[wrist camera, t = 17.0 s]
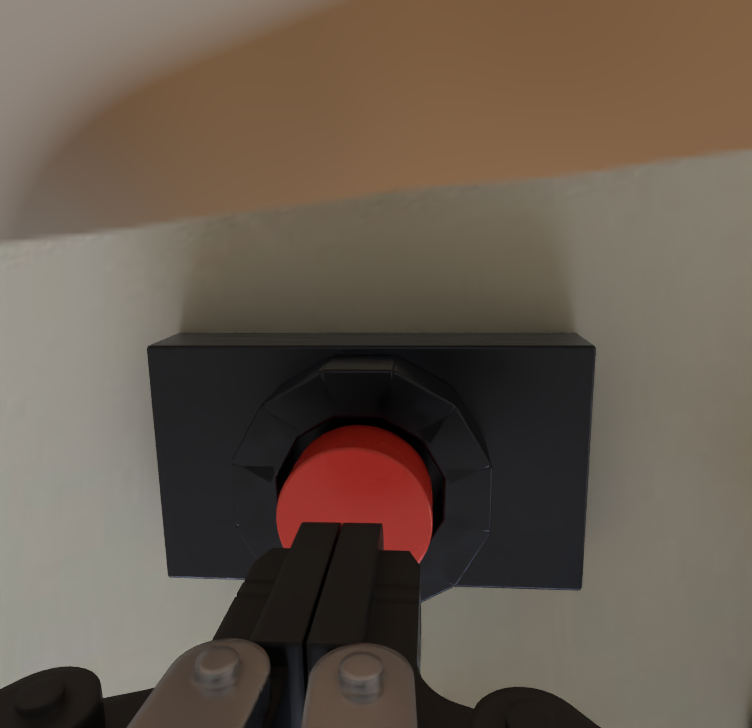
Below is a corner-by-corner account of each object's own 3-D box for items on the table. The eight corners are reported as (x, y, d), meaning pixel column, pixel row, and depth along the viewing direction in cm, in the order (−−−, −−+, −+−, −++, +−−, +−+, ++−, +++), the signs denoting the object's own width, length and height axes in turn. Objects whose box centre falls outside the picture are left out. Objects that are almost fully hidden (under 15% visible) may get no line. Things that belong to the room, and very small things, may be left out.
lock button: (294, 554, 16) (278, 591, 15) (288, 423, 16) (271, 446, 14) (432, 558, 16) (432, 597, 14) (432, 424, 15) (433, 448, 14)
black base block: (194, 542, 21) (139, 615, 17) (176, 332, 19) (112, 359, 15) (565, 552, 20) (599, 631, 16) (577, 332, 18) (617, 360, 14)
